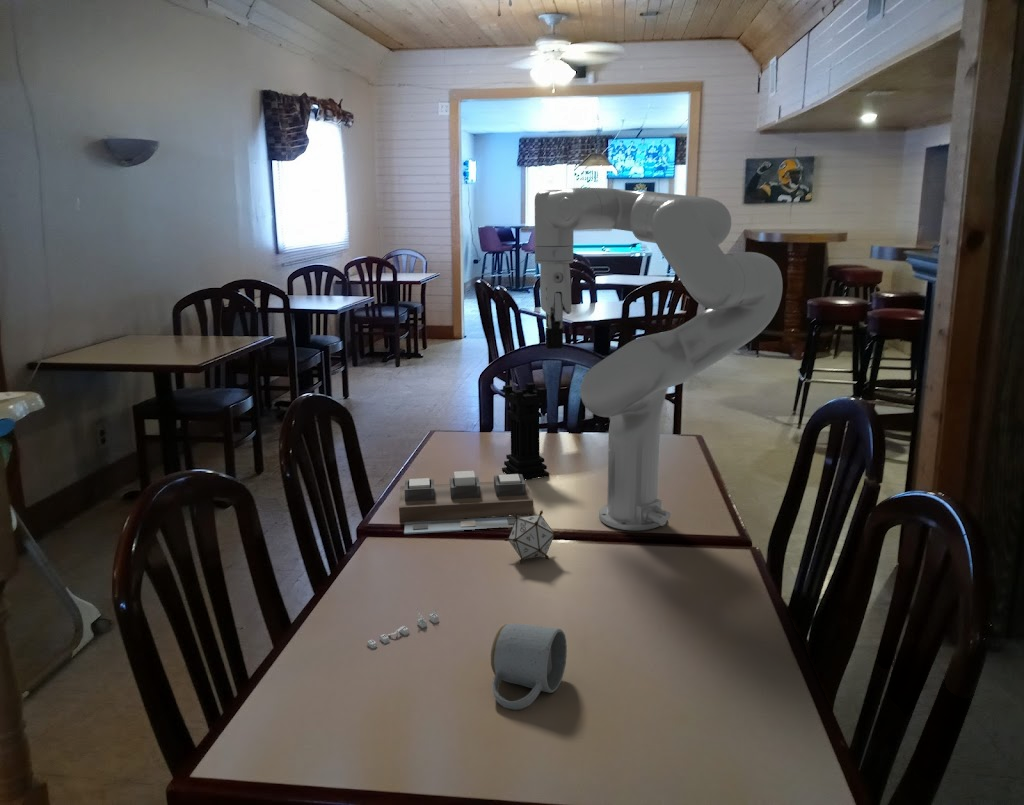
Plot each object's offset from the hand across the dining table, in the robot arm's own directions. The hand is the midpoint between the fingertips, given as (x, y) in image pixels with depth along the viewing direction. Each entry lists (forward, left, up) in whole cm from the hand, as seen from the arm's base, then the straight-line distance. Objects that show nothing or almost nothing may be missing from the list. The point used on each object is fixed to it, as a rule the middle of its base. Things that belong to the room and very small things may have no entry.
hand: (554, 347), depth 161 cm
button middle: (+5, +19, -27) cm, 33 cm away
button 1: (+9, +27, -28) cm, 40 cm away
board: (+2, +20, -31) cm, 37 cm away
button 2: (+1, +11, -28) cm, 30 cm away
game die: (-22, +23, -31) cm, 45 cm away
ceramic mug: (-52, +47, -31) cm, 76 cm away
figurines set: (-30, +52, -32) cm, 68 cm away
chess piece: (+14, -3, -31) cm, 34 cm away
